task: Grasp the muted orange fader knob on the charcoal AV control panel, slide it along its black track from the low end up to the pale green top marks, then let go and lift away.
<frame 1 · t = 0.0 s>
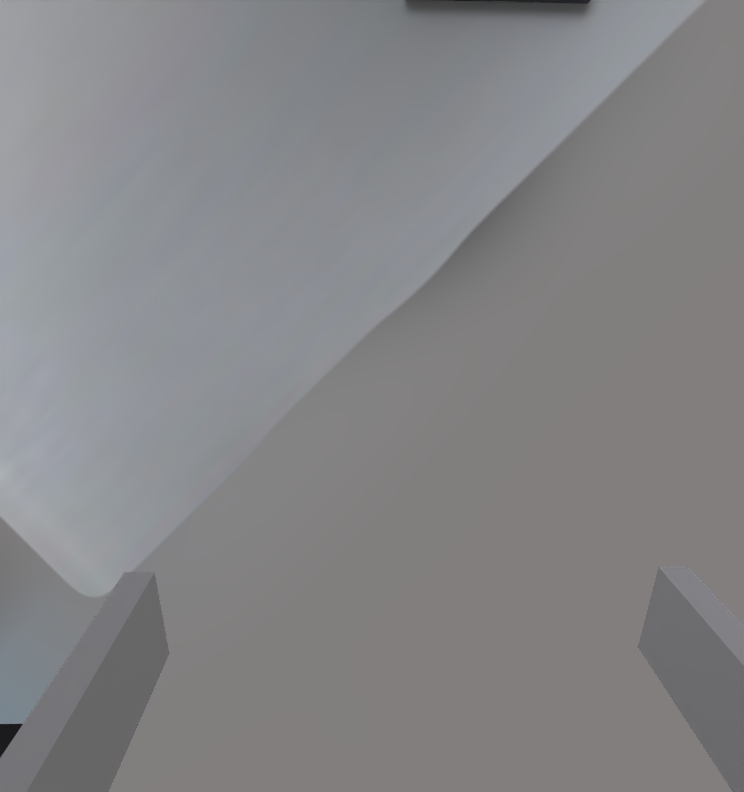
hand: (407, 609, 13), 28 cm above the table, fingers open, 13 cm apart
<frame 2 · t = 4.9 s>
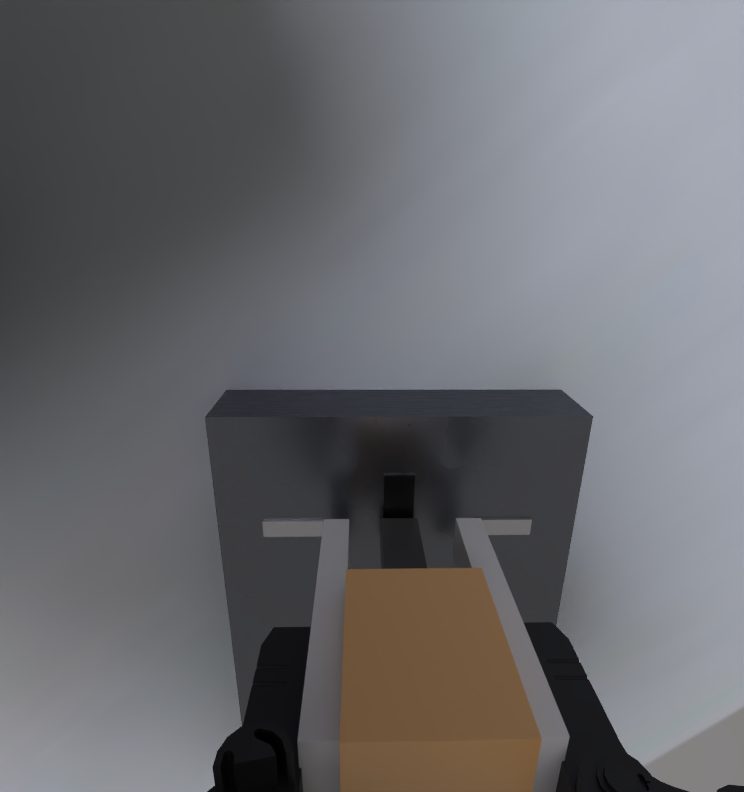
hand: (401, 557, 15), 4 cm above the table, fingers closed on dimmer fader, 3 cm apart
AV control panel: (389, 610, 21), on the table
dimmer fader: (410, 632, 12), point 7 cm above the table, slide at -6.0 cm, touching gripper
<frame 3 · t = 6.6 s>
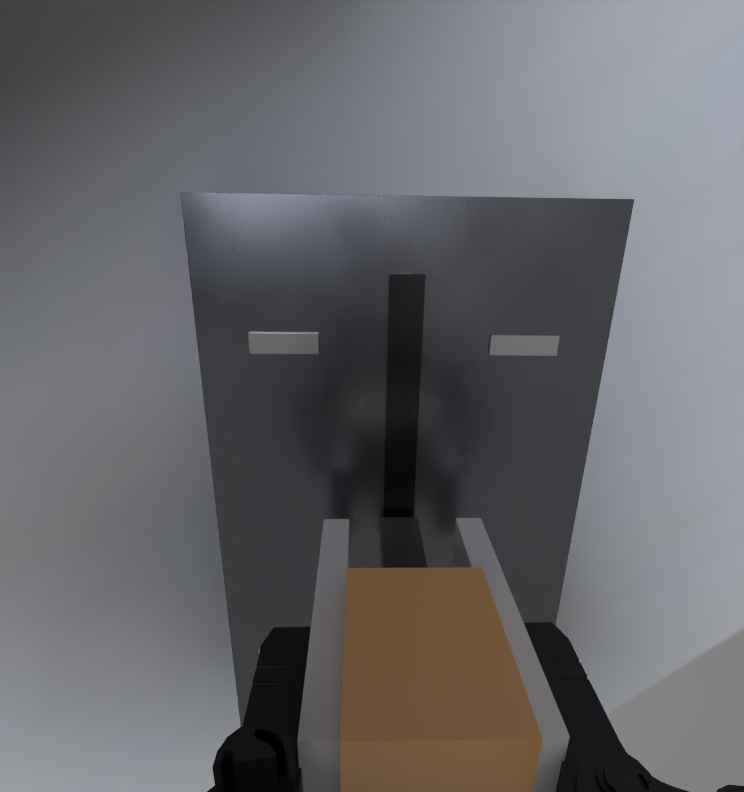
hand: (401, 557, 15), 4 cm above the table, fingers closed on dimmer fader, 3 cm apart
AV control panel: (393, 480, 18), on the table
dimmer fader: (410, 631, 12), point 7 cm above the table, slide at 0.3 cm, touching gripper
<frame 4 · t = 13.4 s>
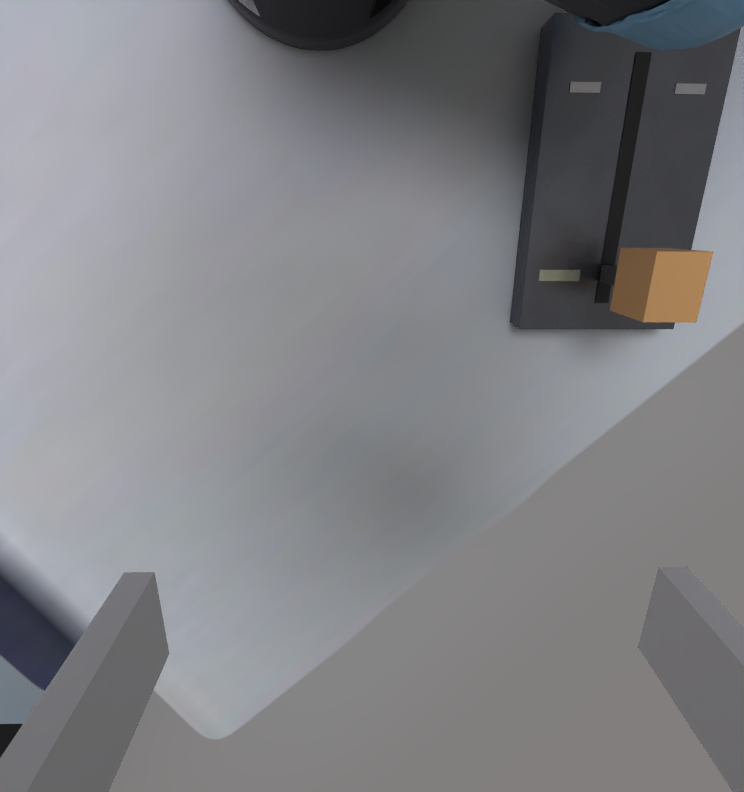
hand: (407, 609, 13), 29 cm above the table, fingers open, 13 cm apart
AV control panel: (603, 189, 36), on the table
dimmer fader: (638, 279, 32), point 7 cm above the table, slide at 5.8 cm
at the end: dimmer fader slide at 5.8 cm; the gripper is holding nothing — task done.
